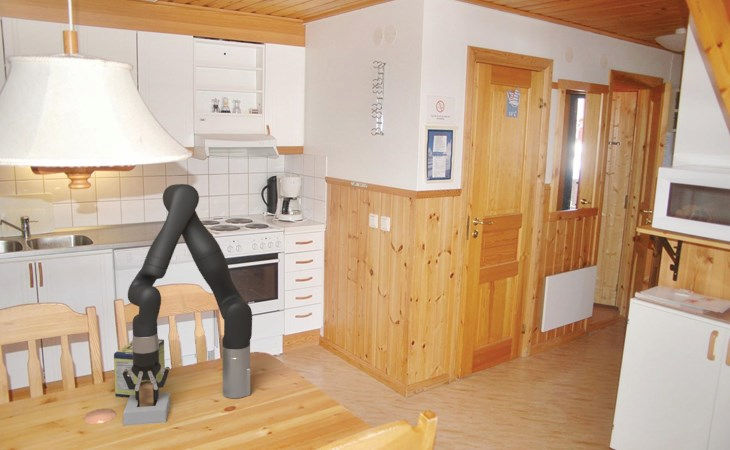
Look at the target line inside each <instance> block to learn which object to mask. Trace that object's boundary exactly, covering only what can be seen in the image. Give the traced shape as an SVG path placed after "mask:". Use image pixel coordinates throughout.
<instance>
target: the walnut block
mask: <svg viewBox="0 0 730 450" xmlns="http://www.w3.org/2000/svg"><path fill="white" fill-rule="evenodd" d="M153 390H154V388H153V385H152V383H151V381H147V382H141V384H140V386H139V403H140V407H147V406H155V401H154V394H153Z"/></svg>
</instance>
